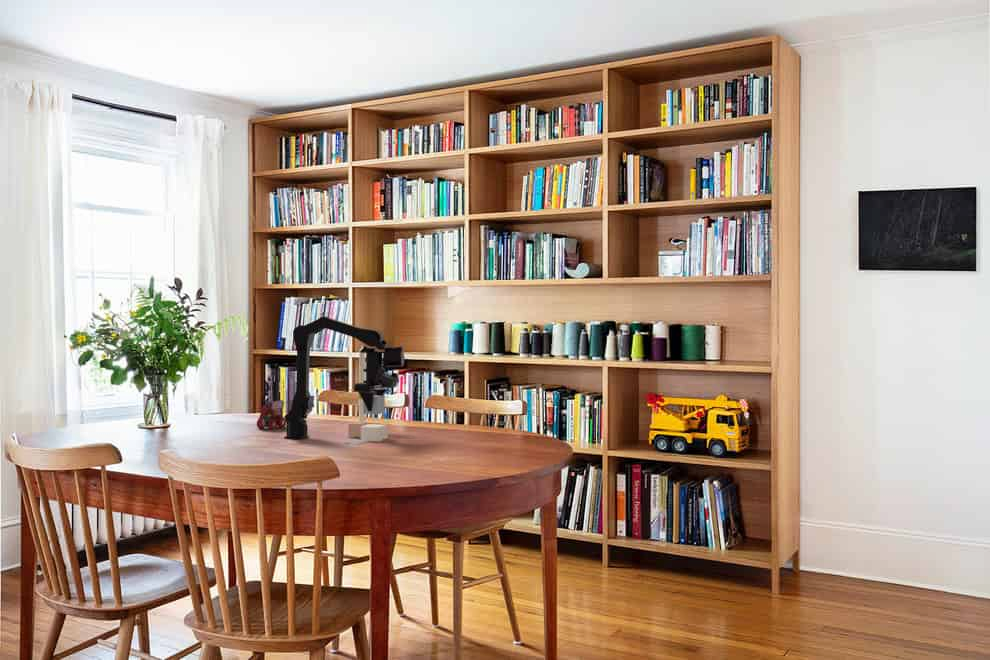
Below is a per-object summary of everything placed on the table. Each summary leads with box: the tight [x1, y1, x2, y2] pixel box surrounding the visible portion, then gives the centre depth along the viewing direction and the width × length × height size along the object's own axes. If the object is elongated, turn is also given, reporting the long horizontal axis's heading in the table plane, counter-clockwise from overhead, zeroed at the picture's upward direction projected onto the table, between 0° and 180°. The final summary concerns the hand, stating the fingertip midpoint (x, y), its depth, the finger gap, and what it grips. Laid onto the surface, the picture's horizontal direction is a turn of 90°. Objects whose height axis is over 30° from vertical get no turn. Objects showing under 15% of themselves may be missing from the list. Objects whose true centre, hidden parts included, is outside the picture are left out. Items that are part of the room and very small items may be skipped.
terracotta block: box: [347, 421, 367, 438], centre depth 314 cm, size 5×5×5 cm
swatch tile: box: [341, 438, 368, 445], centre depth 300 cm, size 7×7×1 cm
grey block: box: [363, 395, 386, 415], centre depth 306 cm, size 6×6×6 cm
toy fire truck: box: [256, 399, 287, 431], centre depth 333 cm, size 7×12×10 cm, turn 153°
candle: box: [350, 344, 367, 422], centre depth 327 cm, size 10×10×32 cm
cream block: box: [360, 423, 388, 442], centre depth 307 cm, size 7×7×5 cm
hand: (373, 410), depth 306 cm, fingers closed on grey block, 5 cm apart
